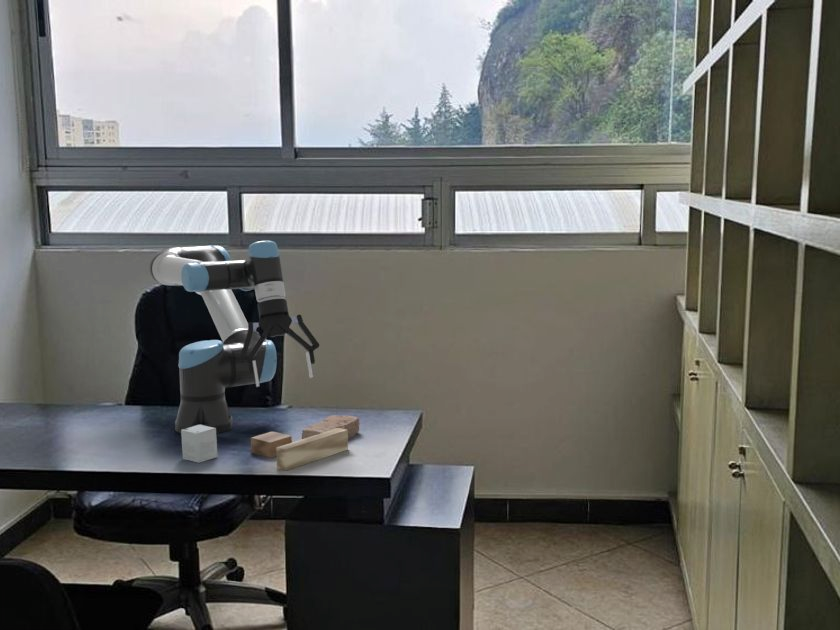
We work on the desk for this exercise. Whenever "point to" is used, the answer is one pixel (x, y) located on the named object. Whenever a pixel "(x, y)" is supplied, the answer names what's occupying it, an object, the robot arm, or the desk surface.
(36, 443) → the desk surface
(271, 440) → the block
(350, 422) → the brick
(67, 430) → the desk surface
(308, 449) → the board
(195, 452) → the skincare box
